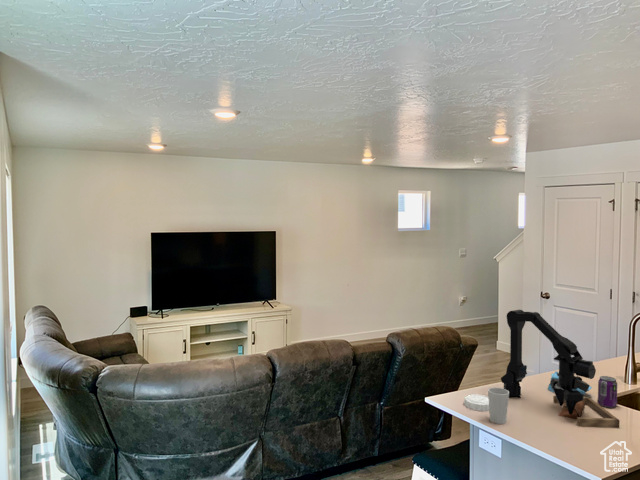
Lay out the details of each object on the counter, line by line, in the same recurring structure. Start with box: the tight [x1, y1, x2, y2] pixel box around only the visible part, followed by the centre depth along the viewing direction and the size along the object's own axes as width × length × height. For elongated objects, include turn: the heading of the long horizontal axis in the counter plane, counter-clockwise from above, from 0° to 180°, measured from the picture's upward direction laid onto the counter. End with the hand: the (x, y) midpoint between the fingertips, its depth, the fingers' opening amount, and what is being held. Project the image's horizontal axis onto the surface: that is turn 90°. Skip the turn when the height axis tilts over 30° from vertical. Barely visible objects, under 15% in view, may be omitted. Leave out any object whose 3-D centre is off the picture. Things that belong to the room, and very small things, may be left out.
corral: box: [552, 395, 620, 429], centre depth 196 cm, size 15×25×3 cm, turn 175°
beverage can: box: [597, 375, 618, 409], centre depth 206 cm, size 7×7×12 cm
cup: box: [487, 387, 510, 425], centre depth 189 cm, size 8×8×12 cm
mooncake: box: [463, 393, 489, 412], centre depth 205 cm, size 12×12×4 cm
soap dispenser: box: [547, 371, 593, 395], centre depth 220 cm, size 18×10×9 cm, turn 53°
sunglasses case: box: [558, 401, 585, 421], centre depth 199 cm, size 18×7×7 cm, turn 147°
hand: (565, 409), depth 196 cm, fingers open, 9 cm apart
